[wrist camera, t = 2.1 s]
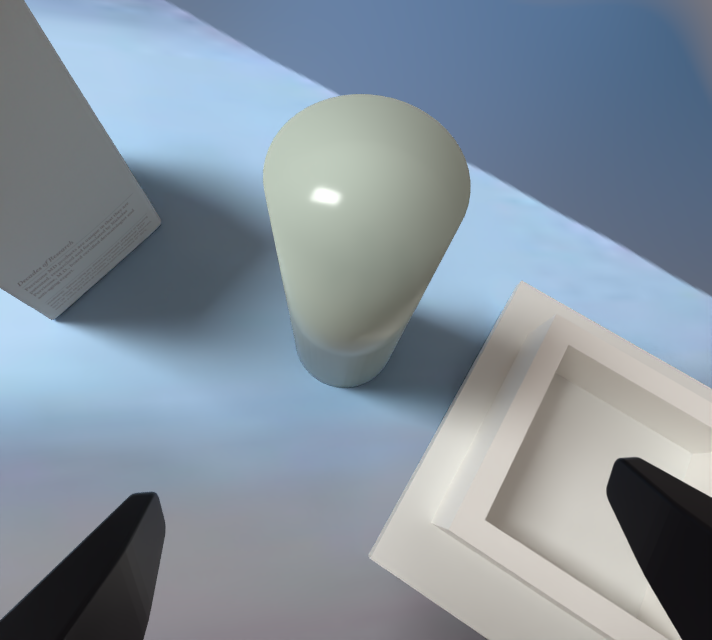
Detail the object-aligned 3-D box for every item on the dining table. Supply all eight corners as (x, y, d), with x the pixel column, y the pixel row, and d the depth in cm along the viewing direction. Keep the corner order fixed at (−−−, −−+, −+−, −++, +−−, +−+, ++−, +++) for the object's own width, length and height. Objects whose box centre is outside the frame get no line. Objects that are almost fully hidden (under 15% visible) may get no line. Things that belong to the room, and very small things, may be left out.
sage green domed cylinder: (410, 359, 23) (510, 215, 11) (323, 405, 22) (324, 306, 10) (362, 280, 24) (403, 70, 12) (279, 320, 23) (228, 136, 11)
